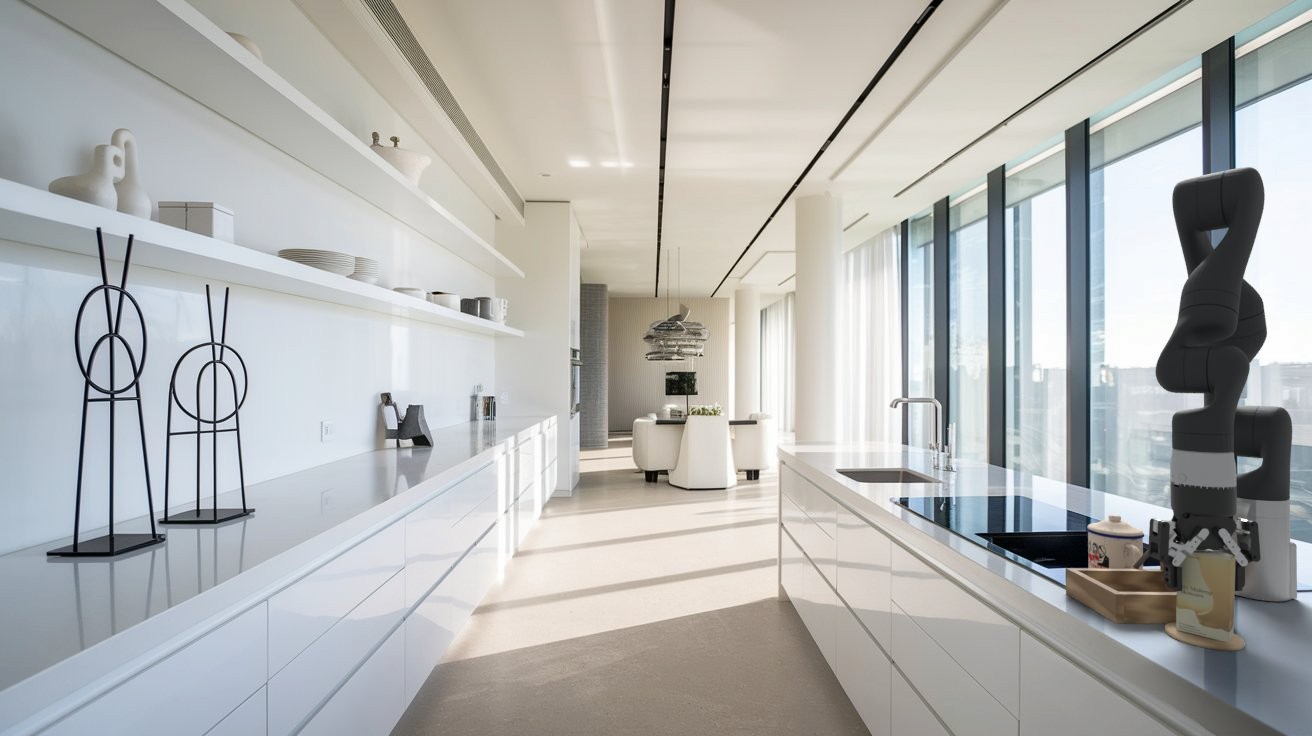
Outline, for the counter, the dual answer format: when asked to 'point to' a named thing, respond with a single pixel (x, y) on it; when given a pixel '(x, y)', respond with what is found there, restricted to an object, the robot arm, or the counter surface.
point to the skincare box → (1207, 595)
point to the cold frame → (1130, 589)
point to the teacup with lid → (1114, 544)
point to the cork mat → (1204, 639)
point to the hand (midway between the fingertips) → (1203, 589)
